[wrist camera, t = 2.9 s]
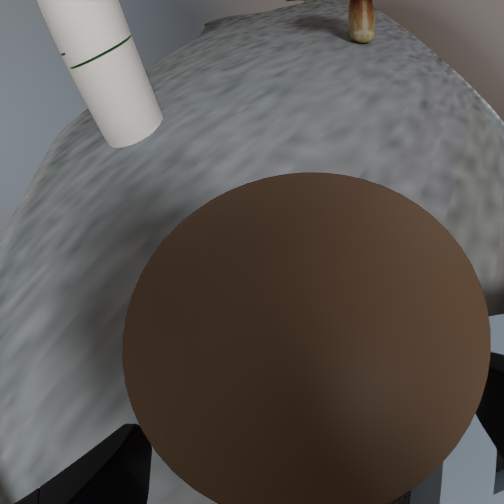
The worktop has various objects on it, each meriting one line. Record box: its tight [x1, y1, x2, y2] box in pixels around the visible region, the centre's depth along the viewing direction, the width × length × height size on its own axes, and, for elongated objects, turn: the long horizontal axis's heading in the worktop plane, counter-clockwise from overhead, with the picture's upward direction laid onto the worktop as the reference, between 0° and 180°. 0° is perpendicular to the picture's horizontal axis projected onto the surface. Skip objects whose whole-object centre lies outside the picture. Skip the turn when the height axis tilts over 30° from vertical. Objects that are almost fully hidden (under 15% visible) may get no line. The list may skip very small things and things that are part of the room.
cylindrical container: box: [36, 0, 163, 148], centre depth 21 cm, size 7×7×25 cm
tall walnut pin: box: [123, 173, 491, 504], centre depth 9 cm, size 4×4×14 cm
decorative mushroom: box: [348, 0, 375, 43], centre depth 32 cm, size 11×11×15 cm
